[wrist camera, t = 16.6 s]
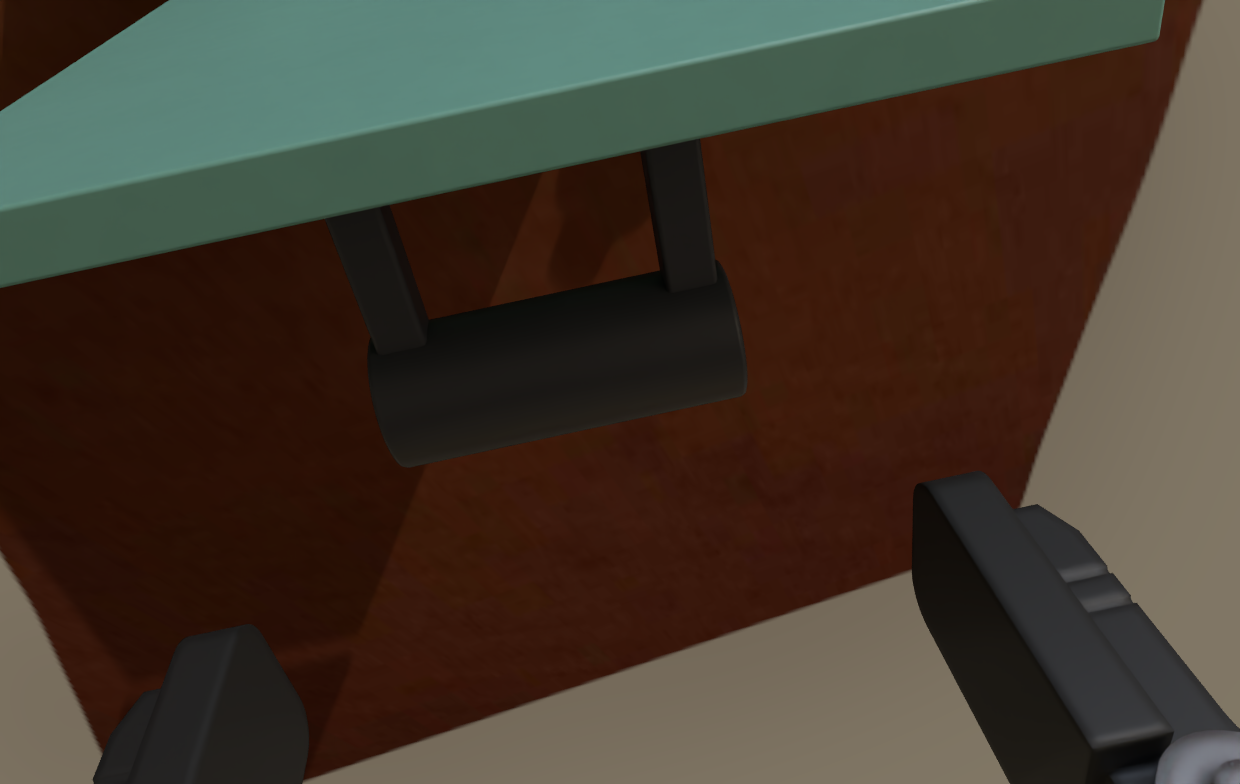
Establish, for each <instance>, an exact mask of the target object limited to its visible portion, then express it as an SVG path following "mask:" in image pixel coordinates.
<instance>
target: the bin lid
mask: <svg viewBox="0 0 1240 784" xmlns="http://www.w3.org/2000/svg"><path fill="white" fill-rule="evenodd" d="M1164 2H1165V0H169V1H167V2H166V3H164V4H163V5H161V6H160V7H158V8H157V9H155V10H154V11H152V12H151V13H149V14H148V15H146V16H145V17H143V18H141V19H140V20H138V21H137V22H135V23H134V24H132V25H131V26H129V27H128V28H126V29H125V30H123V31H122V32H120V33H119V34H117V35H116V36H114V37H113V38H111V39H110V40H108V41H107V42H105V43H104V44H102V45H101V46H99V47H97V48H96V49H94V50H93V51H91V52H90V53H88V54H87V55H85V56H84V57H82V58H81V59H79V60H78V61H76V62H75V63H73V64H72V65H70V66H69V67H67V68H66V69H64V70H63V71H61V72H60V73H58V74H57V75H55V76H54V77H52V78H50V79H49V80H47V81H46V82H44V83H43V84H41V85H40V86H38V87H37V88H35V89H34V90H32V91H31V92H29V93H28V94H26V95H25V96H23V97H22V98H20V99H19V100H17V101H16V102H14V103H13V104H11V105H10V106H8V107H6V108H5V109H3V110H2V111H0V288H2V287H7V286H11V285H16V284H21V283H26V282H30V281H35V280H40V279H44V278H49V277H54V276H58V275H63V274H68V273H72V272H77V271H82V270H86V269H91V268H96V267H100V266H105V265H110V264H114V263H119V262H124V261H129V260H133V259H138V258H143V257H147V256H152V255H157V254H161V253H166V252H171V251H175V250H180V249H185V248H189V247H194V246H199V245H203V244H208V243H213V242H218V241H222V240H227V239H232V238H236V237H241V236H246V235H250V234H255V233H260V232H264V231H269V230H274V229H278V228H283V227H288V226H292V225H297V224H302V223H306V222H311V221H316V220H321V219H325V221H326V224H327V226H328V229H329V231H330V234H331V236H332V239H333V242H334V244H335V247H336V249H337V252H338V254H339V257H340V260H341V262H342V265H343V267H344V270H345V272H346V275H347V277H348V280H349V283H350V285H351V288H352V290H353V293H354V295H355V298H356V301H357V303H358V306H359V308H360V311H361V313H362V316H363V319H364V321H365V324H366V326H367V329H368V331H369V334H370V337H371V338H370V341H369V346H368V357H367V362H368V377H369V385H370V391H371V397H372V402H373V406H374V410H375V414H376V417H377V421H378V424H379V427H380V430H381V433H382V435H383V438H384V440H385V443H386V445H387V447H388V449H389V451H390V452H391V454H392V456H393V457H394V459H395V460H396V462H397V463H398V464H399V465H401V466H403V467H414V466H419V465H423V464H428V463H433V462H437V461H442V460H447V459H451V458H456V457H461V456H465V455H470V454H475V453H479V452H484V451H489V450H493V449H498V448H503V447H507V446H512V445H516V444H521V443H526V442H530V441H535V440H540V439H544V438H549V437H554V436H558V435H563V434H568V433H572V432H577V431H582V430H586V429H591V428H596V427H600V426H605V425H610V424H614V423H619V422H624V421H628V420H633V419H638V418H642V417H647V416H652V415H656V414H661V413H666V412H670V411H675V410H679V409H684V408H689V407H693V406H698V405H703V404H707V403H712V402H717V401H721V400H726V399H731V398H735V397H740V396H742V395H743V394H745V392H746V388H747V363H746V355H745V348H744V341H743V336H742V330H741V325H740V321H739V316H738V312H737V308H736V304H735V300H734V297H733V293H732V290H731V287H730V284H729V281H728V278H727V276H726V273H725V271H724V269H723V267H722V266H721V264H720V263H719V261H717V260H715V255H714V247H713V239H712V231H711V223H710V215H709V207H708V199H707V191H706V183H705V175H704V167H703V159H702V151H701V143H700V138H705V137H709V136H714V135H719V134H723V133H728V132H733V131H737V130H742V129H747V128H751V127H756V126H761V125H765V124H770V123H775V122H779V121H784V120H789V119H794V118H798V117H803V116H808V115H812V114H817V113H822V112H826V111H831V110H836V109H840V108H845V107H850V106H854V105H859V104H864V103H868V102H873V101H878V100H882V99H887V98H892V97H897V96H901V95H906V94H911V93H915V92H920V91H925V90H929V89H934V88H939V87H943V86H948V85H953V84H957V83H962V82H967V81H971V80H976V79H981V78H986V77H990V76H995V75H1000V74H1004V73H1009V72H1014V71H1018V70H1023V69H1028V68H1032V67H1037V66H1042V65H1046V64H1051V63H1056V62H1060V61H1065V60H1070V59H1074V58H1079V57H1084V56H1089V55H1093V54H1098V53H1103V52H1107V51H1112V50H1117V49H1121V48H1126V47H1131V46H1135V45H1140V44H1145V43H1149V42H1153V41H1156V40H1157V39H1158V37H1159V33H1160V27H1161V21H1162V15H1163V9H1164ZM639 151H640V152H641V158H642V164H643V170H644V176H645V182H646V188H647V194H648V200H649V206H650V213H651V219H652V225H653V231H654V237H655V243H656V249H657V255H658V261H659V267H660V271H655V272H651V273H646V274H641V275H637V276H632V277H627V278H623V279H618V280H613V281H609V282H604V283H599V284H595V285H590V286H585V287H581V288H576V289H571V290H567V291H562V292H557V293H553V294H548V295H543V296H539V297H534V298H529V299H525V300H520V301H515V302H511V303H506V304H501V305H497V306H492V307H487V308H482V309H478V310H473V311H468V312H464V313H459V314H454V315H450V316H445V317H440V318H436V319H431V320H429V319H428V317H427V314H426V311H425V308H424V305H423V302H422V299H421V296H420V293H419V290H418V287H417V284H416V281H415V278H414V276H413V273H412V270H411V267H410V264H409V261H408V258H407V255H406V252H405V249H404V246H403V243H402V240H401V237H400V235H399V232H398V229H397V226H396V223H395V220H394V217H393V214H392V211H391V208H390V205H391V204H395V203H400V202H405V201H410V200H414V199H419V198H424V197H428V196H433V195H438V194H442V193H447V192H452V191H456V190H461V189H466V188H470V187H475V186H480V185H484V184H489V183H494V182H498V181H503V180H508V179H513V178H517V177H522V176H527V175H531V174H536V173H541V172H545V171H550V170H555V169H559V168H564V167H569V166H573V165H578V164H583V163H587V162H592V161H597V160H602V159H606V158H611V157H616V156H620V155H625V154H630V153H634V152H639Z"/></svg>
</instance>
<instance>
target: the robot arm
mask: <svg viewBox="0 0 1240 784" xmlns="http://www.w3.org/2000/svg"><path fill="white" fill-rule="evenodd" d="M912 579H913V586H914V590H915V595H916V599H917V602H918V605H919V608H920V611H921V614H922V616H923V618H924V621H925V623H926V625H927V627H928V629H929V631H930V633H931V634H932V636H933V638H934V640H935V642H936V644H937V646H938V648H939V650H940V651H941V653H942V655H943V657H944V659H945V661H946V663H947V665H948V666H949V669H950V670H951V672H952V674H953V676H954V678H955V680H956V682H957V684H958V686H959V688H960V690H961V692H962V693H963V695H964V697H965V699H966V701H967V703H968V705H969V707H970V709H971V711H972V712H973V714H974V716H975V718H976V720H977V722H978V724H979V726H980V727H981V729H982V731H983V733H984V735H985V737H986V739H987V741H988V743H989V745H990V747H991V749H992V750H993V752H994V754H995V756H996V758H997V760H998V762H999V764H1000V766H1001V767H1002V769H1003V771H1004V773H1005V775H1006V777H1007V779H1008V781H1009V783H1010V784H1240V729H1239V728H1238V727H1237V726H1236V725H1235V724H1234V723H1233V722H1232V720H1231V719H1229V717H1228V716H1227V715H1226V714H1225V713H1224V712H1223V710H1222V709H1221V708H1220V706H1219V705H1218V704H1217V703H1216V701H1215V700H1214V699H1213V698H1212V696H1211V695H1210V694H1209V693H1208V691H1207V690H1206V689H1205V688H1204V686H1203V685H1202V684H1201V683H1200V682H1199V680H1198V679H1197V678H1196V676H1195V675H1194V674H1193V673H1192V671H1191V670H1190V669H1189V668H1188V667H1187V665H1186V664H1185V663H1184V661H1183V660H1182V659H1181V658H1180V656H1179V655H1178V654H1177V653H1176V651H1175V650H1174V649H1173V648H1172V646H1171V645H1170V644H1169V643H1168V641H1167V640H1166V639H1165V638H1164V636H1163V635H1162V634H1161V633H1160V632H1159V630H1158V629H1157V628H1156V626H1155V625H1154V624H1153V623H1152V621H1151V620H1150V619H1149V618H1148V616H1147V615H1146V614H1145V613H1144V612H1143V610H1142V609H1141V608H1140V607H1139V605H1138V604H1137V603H1133V602H1132V600H1131V595H1130V594H1129V593H1128V592H1127V590H1126V589H1125V588H1124V586H1123V585H1122V584H1121V583H1120V581H1119V580H1118V579H1117V578H1116V576H1115V575H1114V574H1113V573H1109V572H1108V570H1107V565H1106V564H1105V563H1104V561H1103V560H1102V559H1101V558H1100V556H1099V555H1098V554H1097V553H1096V551H1095V550H1094V549H1093V548H1092V546H1091V545H1090V544H1089V543H1088V541H1087V540H1086V539H1085V538H1084V536H1083V535H1082V534H1081V533H1080V531H1079V530H1077V529H1075V528H1074V527H1072V526H1071V525H1069V524H1068V523H1066V522H1064V521H1063V520H1061V519H1060V518H1058V517H1057V516H1055V515H1053V514H1052V513H1050V512H1049V511H1047V510H1046V509H1044V508H1042V507H1041V506H1039V505H1038V504H1036V505H1031V506H1027V507H1022V508H1017V509H1012V508H1011V506H1010V505H1009V504H1008V502H1007V501H1006V500H1005V498H1004V497H1003V496H1002V494H1001V493H1000V491H999V490H998V489H997V487H996V486H995V485H994V483H993V482H992V481H991V479H990V478H989V477H988V476H987V475H986V474H985V473H983V472H981V471H975V472H970V473H966V474H961V475H956V476H952V477H947V478H942V479H938V480H933V481H928V482H923V483H919V484H917V485H916V487H915V489H914V495H913V538H912ZM308 749H309V730H308V721H307V716H306V712H305V709H304V706H303V703H302V701H301V699H300V697H299V696H298V694H297V692H296V691H295V689H294V687H293V686H292V684H291V682H290V681H289V679H288V677H287V676H286V674H285V672H284V670H283V669H282V667H281V665H280V664H279V662H278V660H277V659H276V657H275V655H274V654H273V652H272V650H271V649H270V647H269V645H268V644H267V642H266V640H265V639H264V637H263V635H262V634H261V632H260V631H259V630H258V629H257V628H256V627H255V626H253V625H251V624H246V625H241V626H237V627H232V628H227V629H222V630H218V631H213V632H208V633H204V634H199V635H194V636H190V637H186V638H184V639H183V640H182V641H181V642H180V643H179V644H178V646H177V648H176V650H175V652H174V655H173V657H172V660H171V663H170V665H169V668H168V671H167V674H166V676H165V679H164V682H163V685H162V687H161V689H157V690H152V691H147V692H144V693H143V694H142V695H141V696H140V698H139V699H138V700H137V702H136V703H135V704H134V705H133V707H132V708H131V709H130V711H129V712H128V713H127V714H126V716H125V717H124V718H123V719H122V721H121V722H120V723H119V725H118V726H117V727H116V728H115V730H114V731H113V732H112V734H111V735H110V738H109V740H108V743H107V745H106V747H105V750H104V752H103V755H102V757H101V760H100V762H99V765H98V767H97V770H96V772H95V775H94V777H93V782H94V784H302V782H303V777H304V772H305V766H306V761H307V756H308Z"/></svg>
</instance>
